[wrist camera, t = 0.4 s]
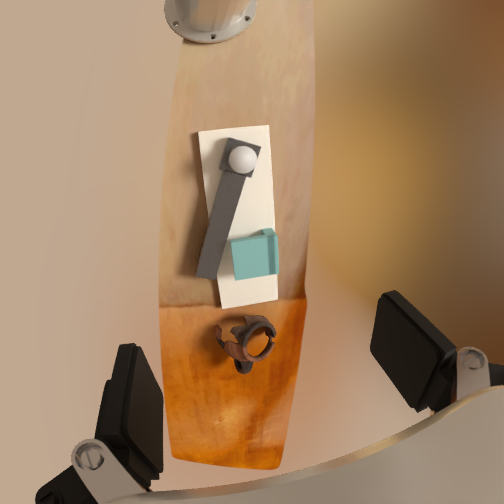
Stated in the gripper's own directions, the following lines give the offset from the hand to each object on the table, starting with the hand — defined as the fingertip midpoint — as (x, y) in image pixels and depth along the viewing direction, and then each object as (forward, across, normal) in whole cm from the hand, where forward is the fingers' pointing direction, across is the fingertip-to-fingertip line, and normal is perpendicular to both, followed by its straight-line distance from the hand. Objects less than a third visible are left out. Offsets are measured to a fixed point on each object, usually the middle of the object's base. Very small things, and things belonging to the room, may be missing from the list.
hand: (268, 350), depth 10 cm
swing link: (+32, -1, +3) cm, 32 cm away
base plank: (+33, -4, +6) cm, 34 cm away
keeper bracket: (+32, -4, +10) cm, 34 cm away
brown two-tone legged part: (+34, -1, +27) cm, 43 cm away
